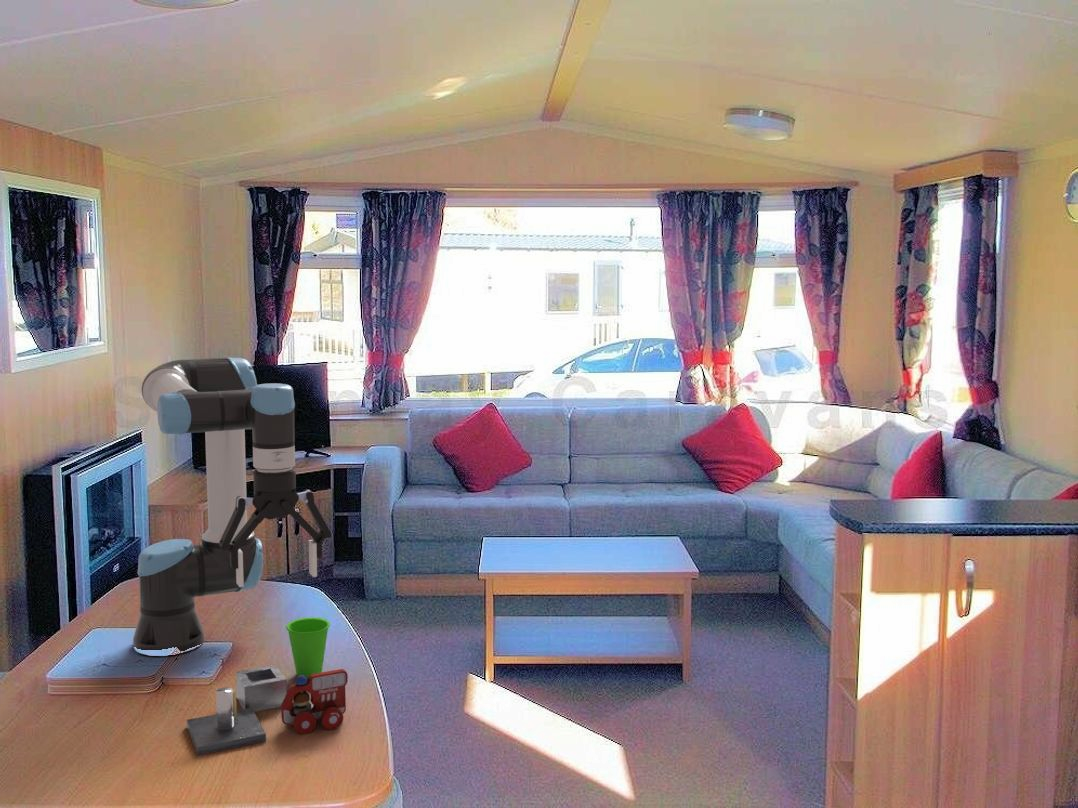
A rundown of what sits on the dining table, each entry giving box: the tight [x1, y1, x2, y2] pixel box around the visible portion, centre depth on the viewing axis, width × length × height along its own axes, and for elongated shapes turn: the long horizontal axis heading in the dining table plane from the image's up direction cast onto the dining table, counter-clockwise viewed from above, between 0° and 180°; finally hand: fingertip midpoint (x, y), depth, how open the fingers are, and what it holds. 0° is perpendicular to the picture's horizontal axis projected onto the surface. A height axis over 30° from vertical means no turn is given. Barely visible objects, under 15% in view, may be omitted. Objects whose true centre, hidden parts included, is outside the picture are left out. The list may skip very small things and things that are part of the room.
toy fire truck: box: [280, 668, 349, 735], centre depth 193 cm, size 7×12×10 cm, turn 113°
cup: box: [285, 616, 331, 680], centre depth 215 cm, size 9×9×11 cm
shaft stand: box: [186, 686, 267, 756], centre depth 188 cm, size 12×12×8 cm
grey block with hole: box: [235, 664, 287, 713], centre depth 202 cm, size 8×8×6 cm
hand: (277, 580), depth 190 cm, fingers open, 13 cm apart
